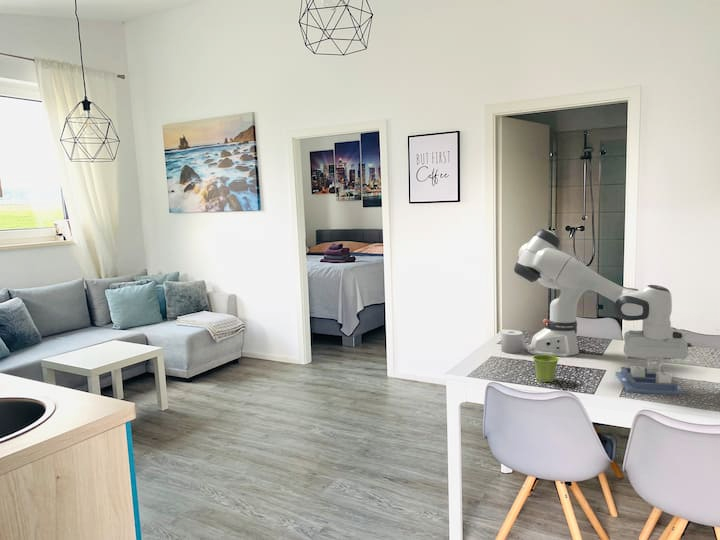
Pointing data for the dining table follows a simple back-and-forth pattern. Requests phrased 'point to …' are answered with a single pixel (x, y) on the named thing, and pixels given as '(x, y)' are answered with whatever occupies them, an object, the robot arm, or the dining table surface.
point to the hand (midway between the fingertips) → (654, 369)
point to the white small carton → (637, 371)
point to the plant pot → (545, 367)
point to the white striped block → (663, 377)
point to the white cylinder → (512, 341)
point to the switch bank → (646, 383)
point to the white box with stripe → (653, 370)
